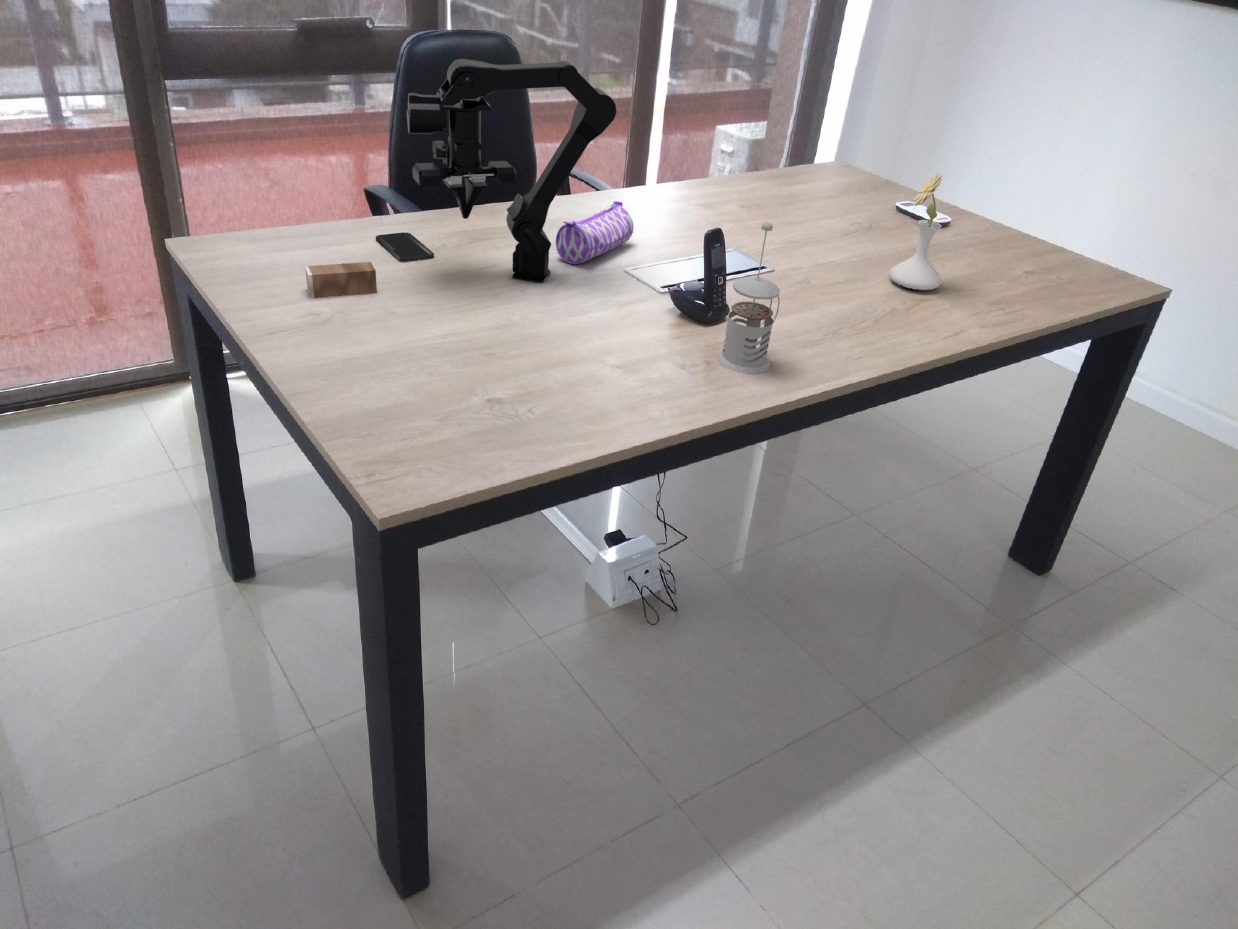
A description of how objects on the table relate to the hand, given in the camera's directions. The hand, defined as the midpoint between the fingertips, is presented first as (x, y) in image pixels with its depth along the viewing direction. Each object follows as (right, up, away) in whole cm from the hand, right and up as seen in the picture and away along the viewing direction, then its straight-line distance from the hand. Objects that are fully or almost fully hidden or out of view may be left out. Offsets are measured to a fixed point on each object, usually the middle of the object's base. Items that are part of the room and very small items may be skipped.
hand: (465, 217), depth 176 cm
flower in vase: (+94, -9, +25) cm, 98 cm away
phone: (-16, -2, +17) cm, 23 cm away
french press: (+52, -29, -14) cm, 62 cm away
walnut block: (-17, -12, -3) cm, 21 cm away
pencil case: (+24, -1, +25) cm, 35 cm away
